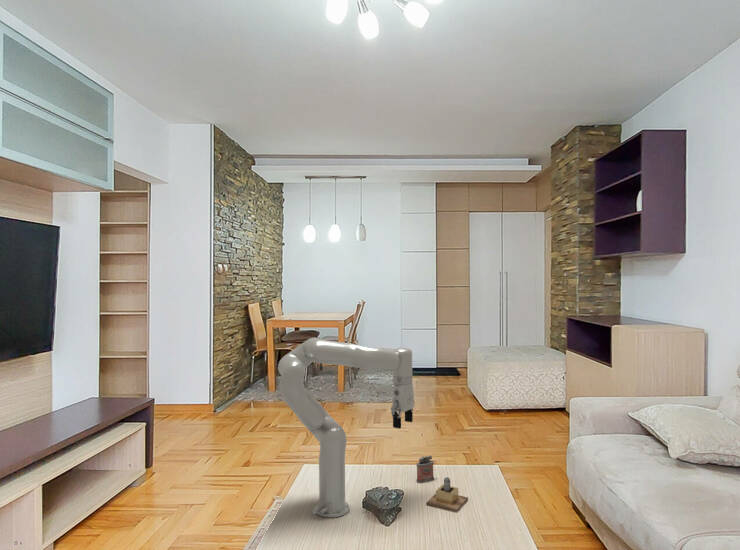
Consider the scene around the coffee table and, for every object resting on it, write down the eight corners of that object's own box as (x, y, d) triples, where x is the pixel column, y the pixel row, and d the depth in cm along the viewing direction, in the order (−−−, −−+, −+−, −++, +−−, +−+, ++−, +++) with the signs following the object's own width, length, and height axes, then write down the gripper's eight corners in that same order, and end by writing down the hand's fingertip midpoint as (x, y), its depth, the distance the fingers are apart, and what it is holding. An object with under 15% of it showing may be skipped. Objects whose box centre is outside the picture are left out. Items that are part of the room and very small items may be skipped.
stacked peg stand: (456, 512, 179) (456, 486, 179) (426, 505, 185) (425, 479, 185) (467, 500, 189) (467, 475, 189) (438, 493, 195) (438, 469, 195)
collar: (452, 505, 182) (451, 494, 183) (436, 501, 186) (435, 490, 186) (458, 498, 188) (458, 487, 188) (442, 494, 191) (442, 484, 191)
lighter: (419, 483, 205) (419, 459, 205) (415, 480, 208) (414, 457, 208) (435, 480, 208) (435, 456, 209) (430, 477, 211) (430, 453, 212)
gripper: (400, 385, 182) (401, 432, 182) (421, 377, 197) (421, 420, 197) (383, 383, 186) (383, 429, 186) (404, 375, 201) (404, 418, 201)
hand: (402, 424), depth 191 cm, fingers open, 9 cm apart
